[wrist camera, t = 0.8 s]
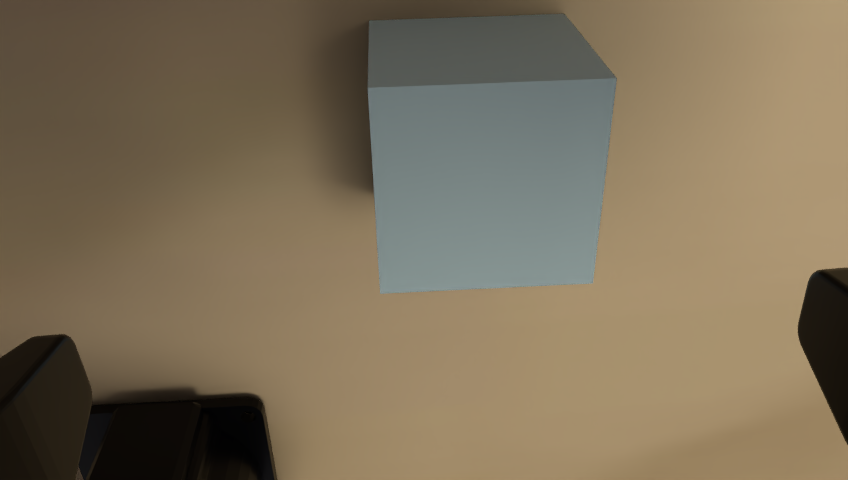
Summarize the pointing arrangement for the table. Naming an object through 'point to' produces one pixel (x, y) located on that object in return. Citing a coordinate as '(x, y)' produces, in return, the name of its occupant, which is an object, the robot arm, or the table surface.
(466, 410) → the table surface
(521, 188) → the cube
